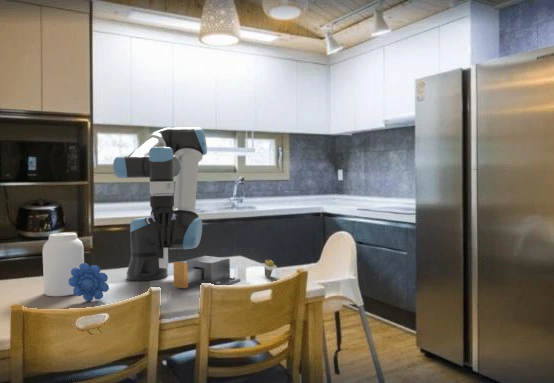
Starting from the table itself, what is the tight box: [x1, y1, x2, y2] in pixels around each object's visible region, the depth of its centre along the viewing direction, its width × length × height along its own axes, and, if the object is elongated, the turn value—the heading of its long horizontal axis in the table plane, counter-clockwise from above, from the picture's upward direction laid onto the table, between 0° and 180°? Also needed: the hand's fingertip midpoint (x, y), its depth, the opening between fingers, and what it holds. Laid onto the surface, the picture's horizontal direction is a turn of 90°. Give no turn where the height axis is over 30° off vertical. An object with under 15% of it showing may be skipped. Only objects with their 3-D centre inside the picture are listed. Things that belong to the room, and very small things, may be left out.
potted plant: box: [261, 259, 278, 281], centre depth 166 cm, size 12×18×7 cm, turn 16°
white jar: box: [42, 232, 85, 298], centre depth 149 cm, size 12×12×20 cm
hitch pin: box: [172, 260, 204, 289], centre depth 156 cm, size 5×16×8 cm, turn 147°
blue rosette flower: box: [68, 262, 110, 302], centre depth 137 cm, size 12×7×12 cm, turn 104°
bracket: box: [185, 255, 241, 286], centre depth 162 cm, size 20×12×8 cm, turn 57°
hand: (163, 267), depth 144 cm, fingers closed
